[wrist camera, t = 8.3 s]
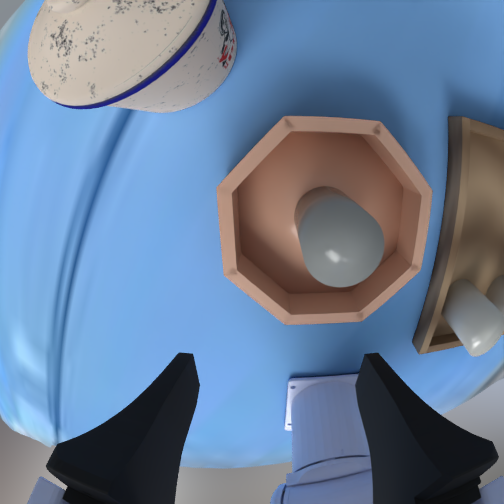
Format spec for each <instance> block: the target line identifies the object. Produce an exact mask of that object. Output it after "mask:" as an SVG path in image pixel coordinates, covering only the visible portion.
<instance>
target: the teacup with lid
mask: <svg viewBox="0 0 504 504" xmlns="http://www.w3.org/2000/svg"><path fill="white" fill-rule="evenodd" d="M236 50H237V40H236V34H235V31H234V28H233V25H232V22H231V20H230V17H229V14H228V12H227V9H226V6H225V4H224V1H223V0H45V1H44V3H43V4H42V6H41V8H40V10H39V12H38V14H37V16H36V19H35V21H34V24H33V27H32V30H31V34H30V38H29V44H28V64H29V69H30V73H31V76H32V78H33V80H34V82H35V84H36V85H37V87H38V88H39V90H40V91H41V92H42V93H43V94H44V95H45V96H46V97H48V98H49V99H51V100H52V101H54V102H55V103H57V104H59V105H62V106H64V107H68V108H72V109H92V108H99V107H103V106H113V107H121V108H129V109H136V110H142V111H149V112H155V113H168V112H175V111H179V110H183V109H186V108H189V107H191V106H193V105H195V104H197V103H199V102H201V101H202V100H204V99H205V98H207V97H208V96H210V95H211V94H212V93H213V92H214V91H215V90H216V89H217V88H218V87H219V86H220V85H221V84H222V83H223V81H224V80H225V79H226V77H227V76H228V74H229V72H230V70H231V68H232V66H233V63H234V60H235V56H236Z"/></svg>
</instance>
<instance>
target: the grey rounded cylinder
mask: <svg viewBox="0 0 504 504" xmlns="http://www.w3.org/2000/svg"><path fill="white" fill-rule="evenodd" d="M294 222H295V226H296V230H297V234H298V238H299V242H300V246H301V250H302V254H303V259H304V262H305V265H306V267H307V269H308V271H309V272H310V274H311V275H312V276H313V277H314V278H315V279H317V280H318V281H319V282H321V283H323V284H325V285H328V286H332V287H348V286H352V285H355V284H358V283H360V282H362V281H363V280H365V279H366V278H367V277H369V276H370V275H371V274H372V273H373V272H374V271H375V269H376V268H377V267H378V265H379V263H380V261H381V259H382V256H383V252H384V235H383V232H382V229H381V227H380V225H379V224H378V222H377V221H376V220H375V219H374V217H372V216H371V215H370V214H369V213H368V212H367V211H365V210H364V209H363V208H362V207H361V206H359V205H358V204H357V203H356V202H355V201H353V200H352V199H351V198H350V197H349V196H347V195H346V194H345V193H343V192H342V191H341V190H339V189H337V188H334V187H329V186H321V187H317V188H314V189H311V190H310V191H308V192H307V193H305V194H304V195H303V196H302V197H301V198H300V200H299V201H298V203H297V205H296V208H295V212H294Z"/></svg>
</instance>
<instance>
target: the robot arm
mask: <svg viewBox="0 0 504 504" xmlns="http://www.w3.org/2000/svg"><path fill="white" fill-rule="evenodd" d="M199 387H200V383H199V379H198V375H197V370H196V365H195V361H194V356H193V354H189V353H178V354H177V355H176V357H175V358H174V359H173V360H172V361H171V362H170V364H169V365H168V366H167V367H166V368H165V369H164V371H163V372H162V373H161V374H160V375H159V376H158V377H157V378H156V379H155V380H154V381H153V382H152V384H151V385H150V386H149V387H148V388H147V389H146V390H145V391H144V392H142V393H141V394H140V395H139V396H138V397H137V398H136V399H135V400H134V401H133V402H132V403H130V404H129V405H128V406H127V407H126V408H124V409H123V410H122V411H120V412H119V413H118V414H116V415H115V416H113V417H112V418H110V419H109V420H108V421H106V422H104V423H103V424H101V425H99V426H98V427H96V428H94V429H92V430H90V431H88V432H86V433H84V434H82V435H80V436H78V437H75V438H73V439H70V440H68V441H65V442H62V443H59V444H57V446H56V447H55V449H54V451H53V453H52V455H51V457H50V459H49V461H48V463H47V465H46V467H47V470H49V472H50V473H51V474H53V475H54V476H55V477H56V478H58V479H59V480H60V481H61V482H63V483H64V484H65V485H67V486H68V487H67V489H66V491H65V490H64V489H62V488H61V487H59V486H57V485H55V484H53V483H52V482H50V481H48V480H47V479H45V478H43V477H39V479H38V481H37V483H36V485H35V487H34V489H33V492H32V494H31V496H30V498H29V501H28V503H27V504H175V494H176V486H177V479H178V472H179V466H180V461H181V455H182V451H183V447H184V443H185V440H186V437H187V434H188V431H189V427H190V424H191V421H192V418H193V415H194V411H195V408H196V405H197V399H198V393H199ZM285 430H288V431H290V430H292V464H293V465H292V467H293V468H292V469H293V473H289V474H287V475H286V483H284V484H281V485H279V486H278V488H277V489H276V490H275V492H274V493H273V495H272V497H271V502H270V504H504V478H503V476H500V477H499V478H497V479H495V480H494V481H492V482H490V483H489V484H487V485H485V486H484V487H482V488H480V489H479V488H478V484H480V483H481V480H480V477H479V476H480V475H482V474H483V473H484V472H485V471H487V470H488V469H489V468H490V467H491V466H493V464H495V462H496V461H497V460H498V457H499V456H498V453H497V451H496V449H495V446H494V444H493V442H492V441H489V440H487V439H484V438H482V437H479V436H476V435H474V434H472V433H470V432H468V431H466V430H464V429H462V428H460V427H459V426H457V425H455V424H454V423H452V422H450V421H449V420H447V419H446V418H444V417H443V416H442V415H440V414H439V413H437V412H436V411H435V410H434V409H432V408H431V407H430V406H429V405H427V404H426V403H425V402H424V401H423V400H422V399H421V398H420V397H419V396H417V395H416V394H415V393H414V392H413V391H412V390H411V389H410V388H409V387H408V386H407V385H406V383H405V382H404V381H403V380H402V379H401V378H400V377H399V376H398V375H397V374H396V373H395V371H394V370H393V369H392V368H391V367H390V366H389V365H388V364H387V362H386V361H385V360H384V359H383V358H382V357H381V356H380V355H379V353H370V354H365V355H364V359H363V362H362V365H361V368H360V371H359V374H350V375H338V376H325V377H308V378H291V379H289V380H288V390H287V404H286V416H285Z"/></svg>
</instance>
